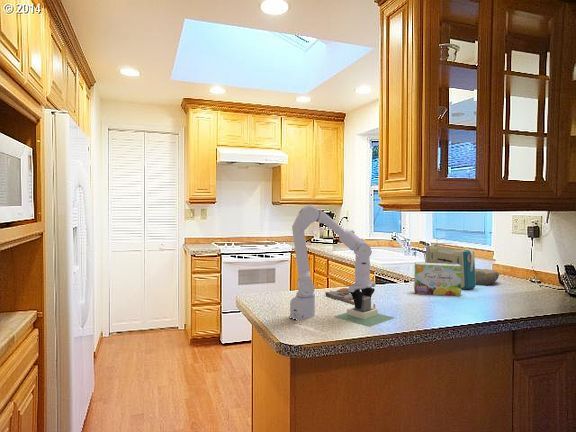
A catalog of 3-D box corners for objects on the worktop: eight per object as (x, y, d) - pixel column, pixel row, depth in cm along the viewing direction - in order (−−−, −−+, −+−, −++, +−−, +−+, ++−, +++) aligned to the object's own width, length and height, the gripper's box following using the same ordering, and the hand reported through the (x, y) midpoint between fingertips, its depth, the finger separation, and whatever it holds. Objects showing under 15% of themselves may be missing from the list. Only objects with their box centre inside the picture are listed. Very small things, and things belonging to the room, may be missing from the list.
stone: (461, 282, 225) (461, 268, 225) (483, 279, 234) (483, 265, 234) (483, 287, 213) (484, 272, 213) (506, 284, 222) (506, 269, 221)
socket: (364, 319, 153) (364, 313, 153) (346, 314, 159) (346, 309, 159) (377, 314, 158) (377, 309, 158) (360, 310, 165) (360, 305, 165)
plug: (363, 314, 155) (363, 298, 155) (354, 311, 159) (354, 296, 158) (370, 311, 158) (371, 296, 158) (361, 309, 162) (361, 294, 161)
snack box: (414, 294, 198) (415, 263, 197) (414, 291, 203) (414, 261, 203) (461, 296, 193) (461, 265, 192) (459, 293, 198) (459, 263, 198)
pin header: (374, 314, 160) (374, 304, 160) (363, 311, 164) (363, 301, 164) (377, 313, 161) (377, 303, 161) (365, 310, 165) (365, 301, 165)
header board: (369, 329, 144) (369, 326, 144) (333, 319, 156) (333, 316, 156) (395, 320, 155) (395, 317, 155) (359, 311, 167) (359, 308, 167)
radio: (423, 280, 232) (423, 237, 231) (433, 279, 235) (434, 236, 234) (465, 290, 205) (466, 241, 204) (476, 289, 208) (477, 241, 207)
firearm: (387, 301, 179) (362, 305, 171) (387, 306, 179) (361, 310, 171) (345, 287, 204) (321, 290, 196) (345, 292, 204) (321, 295, 196)
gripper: (359, 276, 150) (358, 312, 151) (381, 272, 160) (381, 305, 161) (344, 274, 155) (344, 309, 156) (367, 269, 165) (367, 302, 166)
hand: (362, 307), depth 159 cm, fingers closed on plug, 4 cm apart
